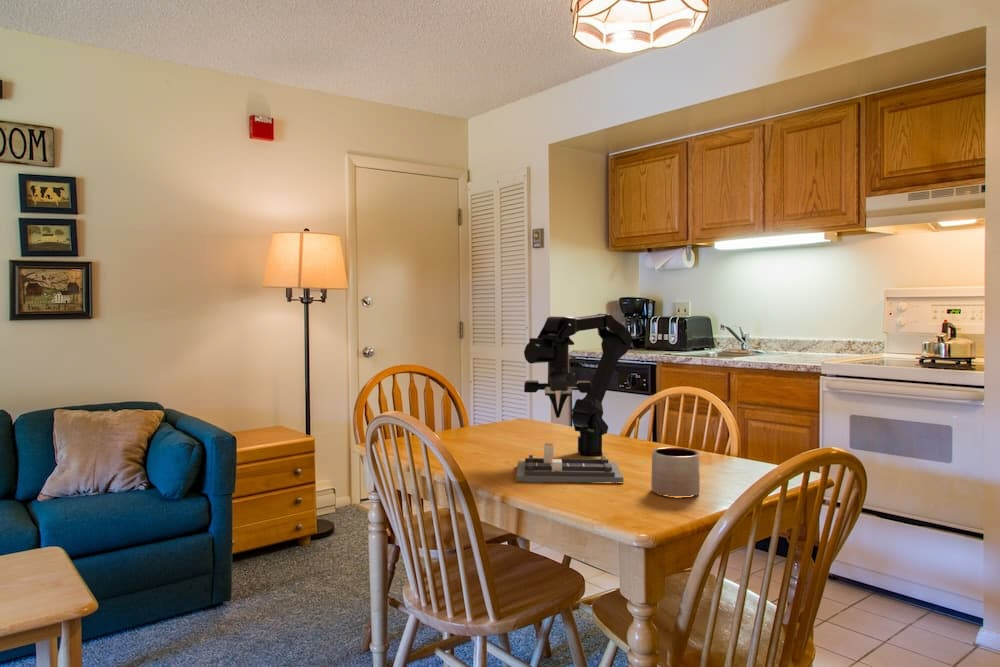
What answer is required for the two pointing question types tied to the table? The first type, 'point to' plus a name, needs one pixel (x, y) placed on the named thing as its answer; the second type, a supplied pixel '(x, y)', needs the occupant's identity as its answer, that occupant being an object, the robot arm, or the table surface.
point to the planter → (675, 471)
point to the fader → (548, 452)
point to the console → (568, 470)
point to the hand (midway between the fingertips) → (557, 417)
